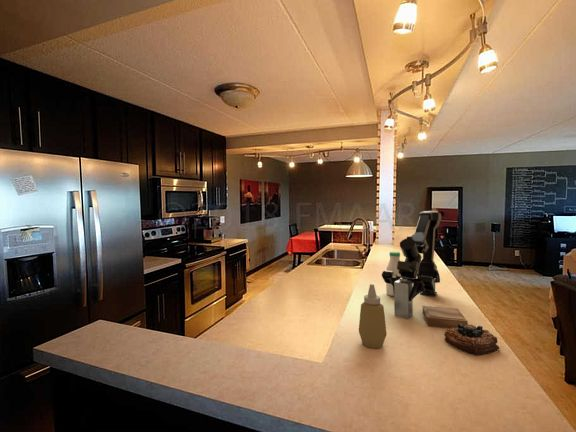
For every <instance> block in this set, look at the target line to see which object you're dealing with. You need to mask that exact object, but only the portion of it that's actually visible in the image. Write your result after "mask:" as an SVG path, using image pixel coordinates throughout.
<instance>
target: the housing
mask: <svg viewBox="0 0 576 432" xmlns="http://www.w3.org/2000/svg"><path fill="white" fill-rule="evenodd" d="M412 288H413V281H407V278H400V279H399V280H397V281H395V282H394V296H393V298H394V303H393V304H394V314H393V315H394V317H398V318H400V319H405V320H409V319H410V318H412V317H413V315H414V314H413V313H414V312H413V310H414V309H413V308H414V307H413V305H414V303H413V302H414V301H413V300H414V299H413V300H412V301H409V297H410V294H411V291H412Z"/></svg>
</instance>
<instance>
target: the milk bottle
mask: <svg viewBox="0 0 576 432" xmlns="http://www.w3.org/2000/svg"><path fill="white" fill-rule="evenodd" d="M400 257H401V253H400V252H399V251H389V260H388V261H389V262H388V264H387V266H386V269H385V271H393V273H394V274H396V275H398V276H400V275H401V274H399V270H397V264H398V261H401V259H400ZM385 287H386V290H385V291H386V295H388V296H390V297H394V292H393V286H392V284H388V283H385Z"/></svg>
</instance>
